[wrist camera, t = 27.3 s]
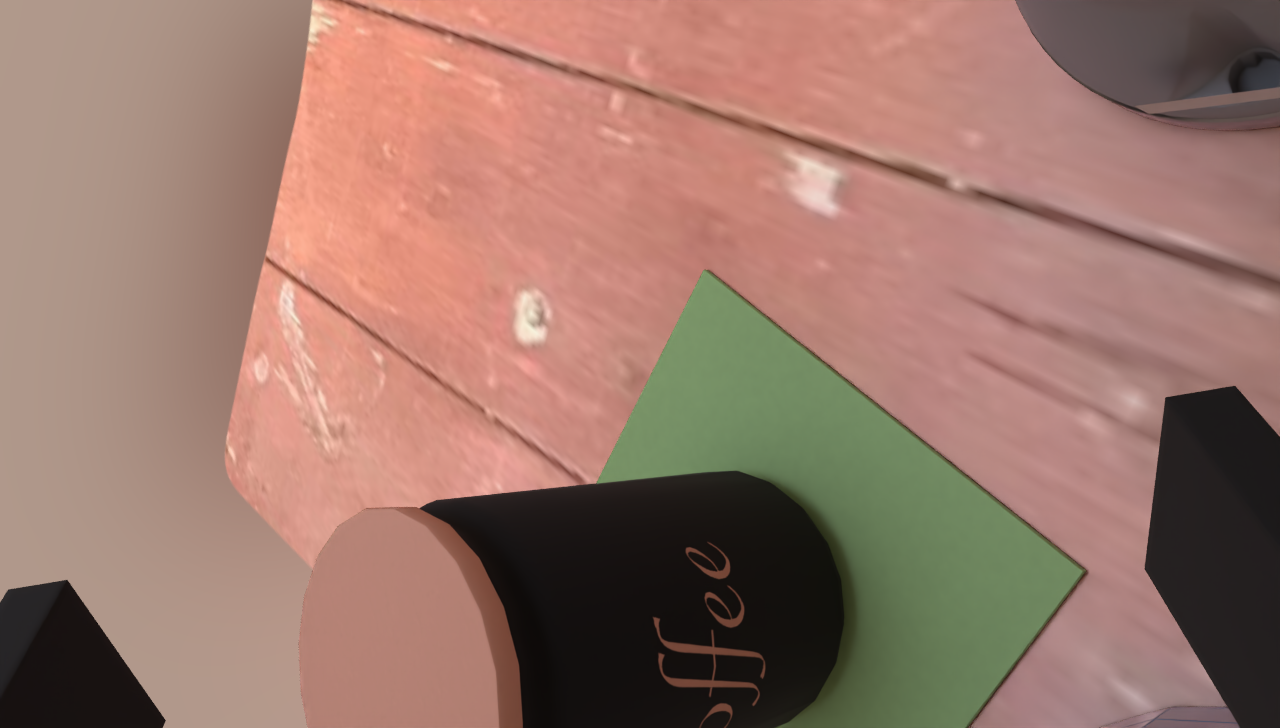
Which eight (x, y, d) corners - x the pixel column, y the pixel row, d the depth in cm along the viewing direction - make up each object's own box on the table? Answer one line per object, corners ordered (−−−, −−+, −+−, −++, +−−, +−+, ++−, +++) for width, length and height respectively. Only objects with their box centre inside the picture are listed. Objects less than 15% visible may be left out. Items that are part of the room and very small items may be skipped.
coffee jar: (810, 775, 43) (446, 953, 29) (632, 637, 49) (272, 731, 36) (895, 539, 40) (539, 619, 27) (695, 428, 47) (333, 449, 34)
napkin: (539, 603, 54) (535, 604, 54) (708, 269, 47) (703, 269, 47) (807, 940, 43) (802, 943, 43) (1086, 570, 35) (1083, 572, 35)
